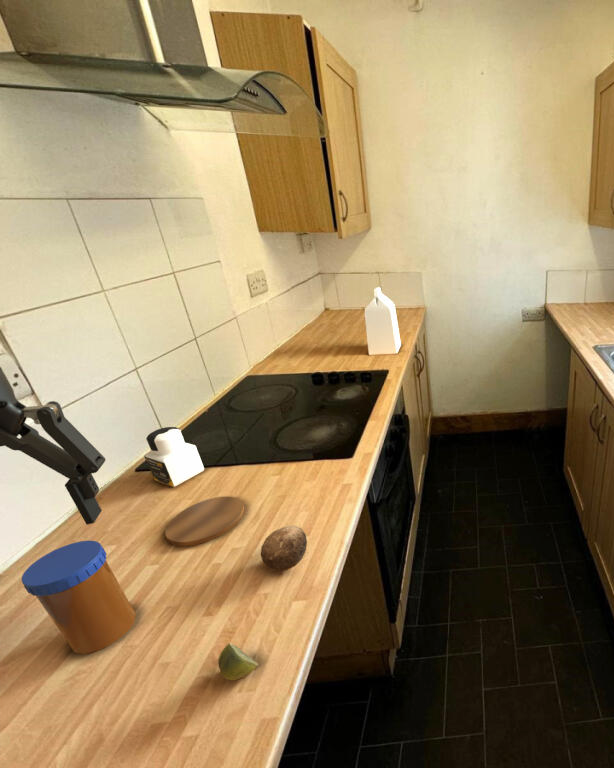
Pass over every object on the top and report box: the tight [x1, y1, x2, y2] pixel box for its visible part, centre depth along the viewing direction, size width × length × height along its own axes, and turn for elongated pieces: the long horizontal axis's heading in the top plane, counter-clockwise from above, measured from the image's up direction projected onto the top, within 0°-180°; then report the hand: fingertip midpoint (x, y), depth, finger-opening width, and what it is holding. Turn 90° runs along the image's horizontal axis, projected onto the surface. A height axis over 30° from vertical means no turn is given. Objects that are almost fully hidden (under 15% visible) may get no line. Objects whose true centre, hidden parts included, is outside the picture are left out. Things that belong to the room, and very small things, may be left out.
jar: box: [35, 559, 137, 655], centre depth 60 cm, size 7×7×14 cm
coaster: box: [164, 496, 245, 547], centre depth 84 cm, size 13×13×1 cm
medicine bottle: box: [143, 426, 205, 488], centre depth 95 cm, size 7×7×12 cm
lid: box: [21, 540, 108, 597], centre depth 57 cm, size 8×8×2 cm
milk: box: [364, 286, 402, 356], centre depth 173 cm, size 12×12×26 cm
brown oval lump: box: [260, 524, 308, 572], centre depth 74 cm, size 8×8×6 cm
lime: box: [217, 642, 259, 681], centre depth 56 cm, size 4×5×5 cm
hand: (43, 529), depth 55 cm, fingers open, 10 cm apart
